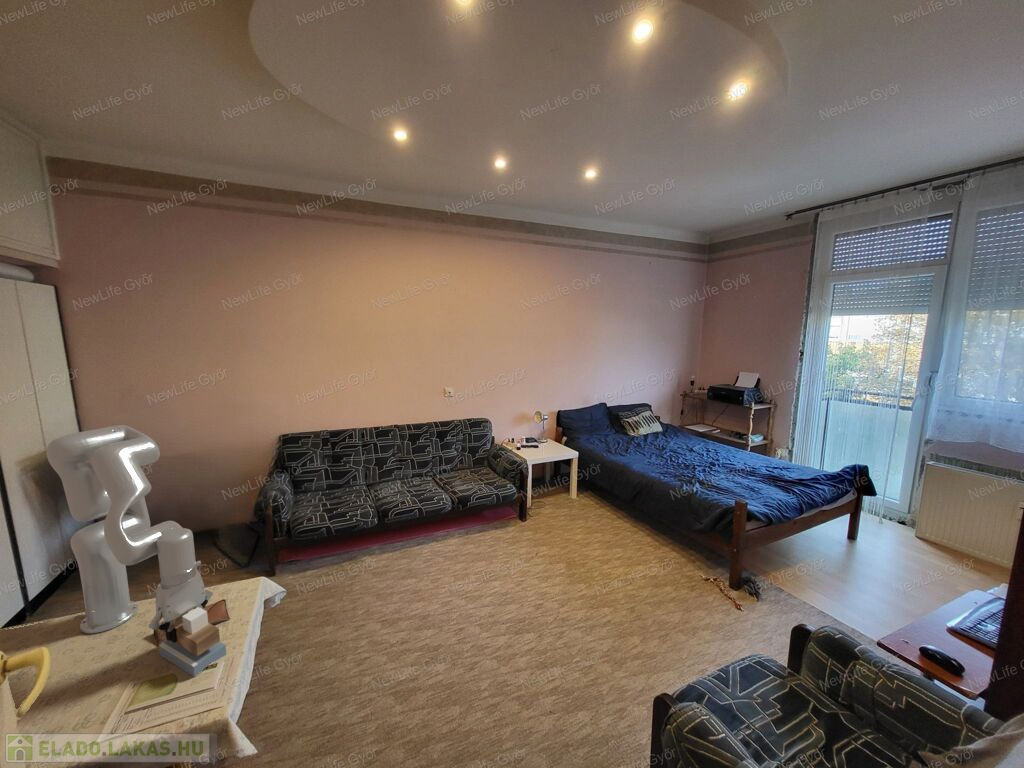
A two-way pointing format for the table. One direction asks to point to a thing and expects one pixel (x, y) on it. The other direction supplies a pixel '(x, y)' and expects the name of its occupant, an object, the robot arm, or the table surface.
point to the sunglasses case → (215, 616)
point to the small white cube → (195, 620)
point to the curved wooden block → (196, 637)
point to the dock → (191, 656)
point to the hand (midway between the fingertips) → (185, 632)
